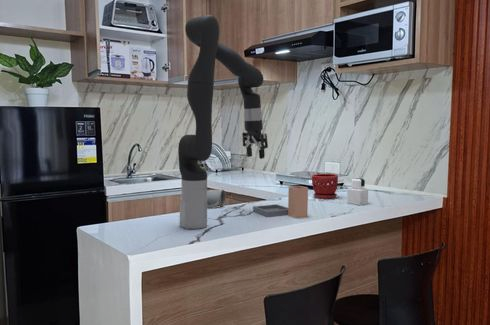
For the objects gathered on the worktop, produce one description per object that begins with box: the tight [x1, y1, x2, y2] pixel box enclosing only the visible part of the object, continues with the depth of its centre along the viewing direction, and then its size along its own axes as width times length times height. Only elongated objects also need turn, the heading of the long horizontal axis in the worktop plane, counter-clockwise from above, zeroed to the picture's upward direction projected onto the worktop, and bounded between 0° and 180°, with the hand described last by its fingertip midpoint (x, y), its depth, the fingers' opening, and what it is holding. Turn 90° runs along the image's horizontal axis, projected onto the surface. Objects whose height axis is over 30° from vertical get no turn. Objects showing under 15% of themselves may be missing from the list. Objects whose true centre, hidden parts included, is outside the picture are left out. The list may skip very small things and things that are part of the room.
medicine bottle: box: [346, 178, 369, 206], centre depth 203 cm, size 7×7×12 cm
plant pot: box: [311, 173, 339, 200], centre depth 219 cm, size 13×13×12 cm
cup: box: [287, 185, 309, 219], centre depth 174 cm, size 6×6×12 cm
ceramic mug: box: [207, 189, 226, 209], centre depth 193 cm, size 11×8×8 cm
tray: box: [252, 203, 288, 218], centre depth 180 cm, size 12×12×2 cm
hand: (255, 157), depth 181 cm, fingers open, 8 cm apart
